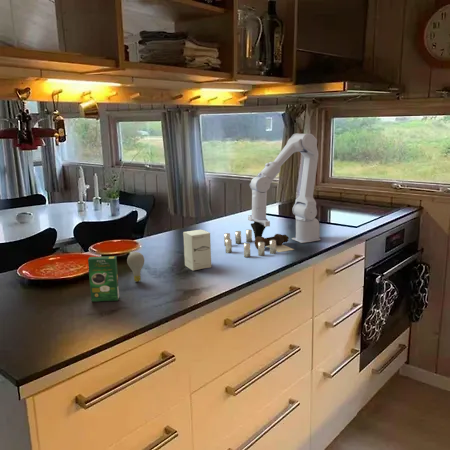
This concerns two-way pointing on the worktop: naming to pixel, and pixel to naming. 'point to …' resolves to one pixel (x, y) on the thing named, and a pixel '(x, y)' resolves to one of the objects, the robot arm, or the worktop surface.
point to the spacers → (248, 244)
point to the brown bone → (278, 237)
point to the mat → (281, 248)
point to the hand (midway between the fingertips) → (258, 240)
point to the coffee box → (103, 278)
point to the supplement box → (197, 249)
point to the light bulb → (136, 264)
